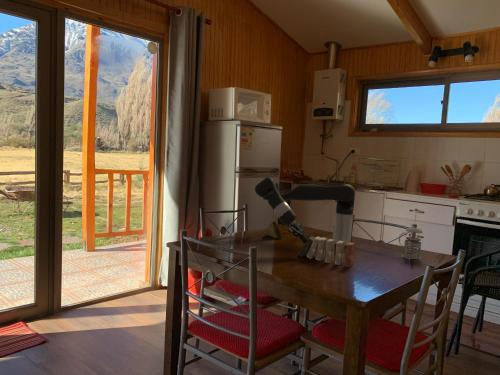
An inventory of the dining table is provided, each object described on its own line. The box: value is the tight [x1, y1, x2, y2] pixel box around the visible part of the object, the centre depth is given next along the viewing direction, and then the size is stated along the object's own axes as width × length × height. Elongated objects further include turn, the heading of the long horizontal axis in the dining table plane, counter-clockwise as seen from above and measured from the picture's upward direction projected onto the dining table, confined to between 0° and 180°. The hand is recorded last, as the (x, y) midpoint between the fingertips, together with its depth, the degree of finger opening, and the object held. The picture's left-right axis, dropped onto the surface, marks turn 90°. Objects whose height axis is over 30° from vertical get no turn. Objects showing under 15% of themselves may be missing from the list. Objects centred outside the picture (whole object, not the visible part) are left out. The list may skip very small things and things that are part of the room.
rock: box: [266, 220, 284, 240], centre depth 228 cm, size 11×9×10 cm
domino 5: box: [334, 241, 346, 266], centre depth 181 cm, size 2×5×10 cm, turn 151°
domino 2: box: [306, 236, 322, 260], centre depth 187 cm, size 2×5×10 cm, turn 151°
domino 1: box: [297, 236, 316, 258], centre depth 189 cm, size 2×5×10 cm
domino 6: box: [344, 241, 356, 268], centre depth 179 cm, size 2×5×10 cm, turn 150°
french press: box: [398, 208, 423, 260], centre depth 201 cm, size 10×12×25 cm
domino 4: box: [324, 238, 336, 264], centre depth 184 cm, size 2×5×10 cm, turn 150°
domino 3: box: [315, 237, 329, 262], centre depth 186 cm, size 2×5×10 cm, turn 151°
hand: (306, 242), depth 189 cm, fingers closed
